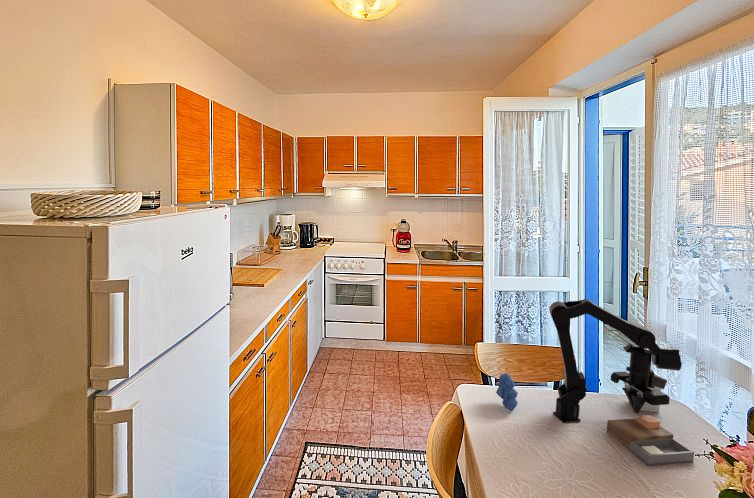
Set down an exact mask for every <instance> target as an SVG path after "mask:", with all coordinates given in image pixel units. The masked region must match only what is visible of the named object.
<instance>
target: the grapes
mask: <svg viewBox="0 0 754 498" xmlns="http://www.w3.org/2000/svg"><path fill="white" fill-rule="evenodd" d="M498 379H499V380H498V383H497V386H498V387H497V389H496V392H495V394H496V395H497V396H498V397H499V398H500V399H502V403H501V404H502V405H503V407H504V408H506V409H507V410H508V411H509V412H513V411H514V410H515V408H517V406H518V403H519V402H518V400H517V399H516V398H517V397H518V394H519V393H518V391H517V390H516V389H514V388H515V385H516V383H515V381H514V380H512V377H511V375H510V374H509V373H506V372H505V373H502V374H500V376H499V378H498Z"/></svg>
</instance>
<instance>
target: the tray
mask: <svg viewBox="0 0 754 498" xmlns="http://www.w3.org/2000/svg"><path fill="white" fill-rule="evenodd" d="M641 446H655V447H656V448H658V449H659V450H660V451H662V452H663V453H661V454H648V453H647V452H646V451H644V450H643V449H642V448H641ZM628 451H629V452H630V453H631V454H632V455H634V456H635V457H636V458H638V459H639V460H640V461H641V462H642V463H644V464H645V465H647V467H650V466H651V467H652V466H664V465H665V466H666V465H675V464H686V463H694V460H695V459H694V458H695V451H693V450H692V449H690V448H689V447H688V446H686V445H684V444H683V443H681V442H680V441H678V440H677V439H675V438H674V437H673V438H666V439H652V440H639V441H630V449H629V450H628Z"/></svg>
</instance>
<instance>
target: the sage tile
mask: <svg viewBox="0 0 754 498" xmlns="http://www.w3.org/2000/svg"><path fill="white" fill-rule="evenodd" d="M641 448H642V449H643V450H644V451H646V452H647V453H648V454H661V453H663V452H662V451H660V450H659V449H658V448H656V447H655V446H641Z"/></svg>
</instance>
